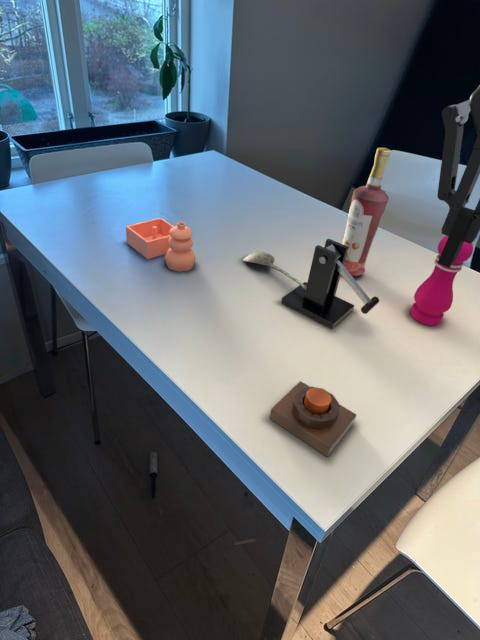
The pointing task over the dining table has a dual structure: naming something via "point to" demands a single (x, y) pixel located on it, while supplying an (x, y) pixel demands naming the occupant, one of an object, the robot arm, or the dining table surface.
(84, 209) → the dining table surface
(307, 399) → the button
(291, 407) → the button box
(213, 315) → the dining table surface
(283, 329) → the dining table surface
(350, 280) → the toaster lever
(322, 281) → the lever bracket
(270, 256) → the soupspoon
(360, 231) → the liquor
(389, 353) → the dining table surface
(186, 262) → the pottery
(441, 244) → the pepper mill
